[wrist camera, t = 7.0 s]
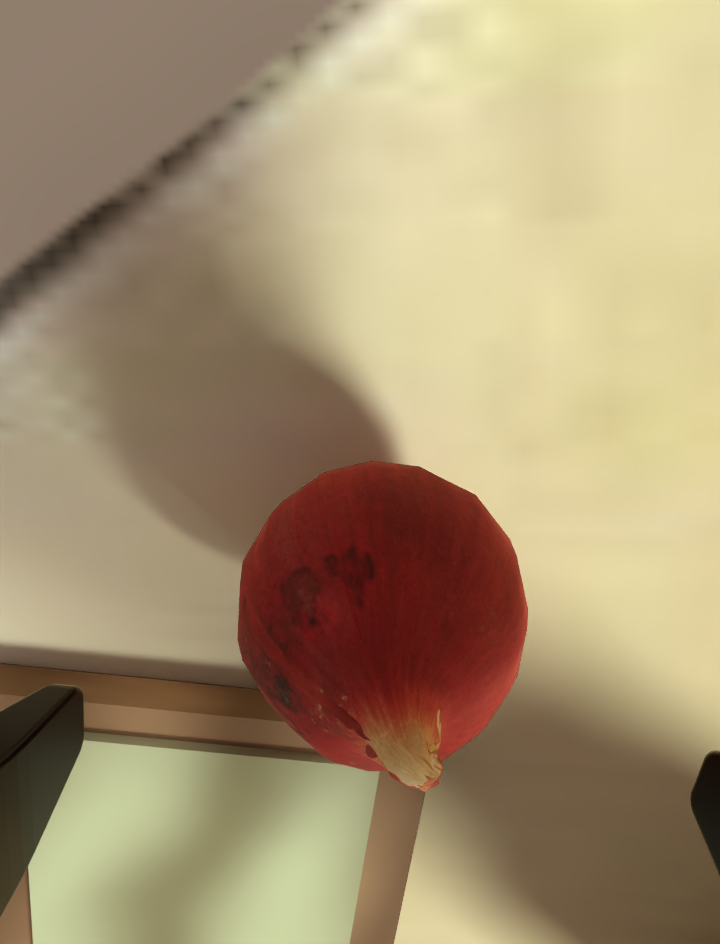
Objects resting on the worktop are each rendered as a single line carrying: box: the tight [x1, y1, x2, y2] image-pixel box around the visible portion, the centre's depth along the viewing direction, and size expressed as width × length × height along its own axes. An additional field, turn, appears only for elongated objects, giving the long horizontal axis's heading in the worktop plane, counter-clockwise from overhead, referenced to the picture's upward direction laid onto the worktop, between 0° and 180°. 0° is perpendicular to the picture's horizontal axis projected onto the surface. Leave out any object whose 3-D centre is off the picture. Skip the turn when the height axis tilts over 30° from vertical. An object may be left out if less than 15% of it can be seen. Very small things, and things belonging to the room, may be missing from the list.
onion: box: [238, 461, 528, 792], centre depth 11 cm, size 6×6×8 cm
